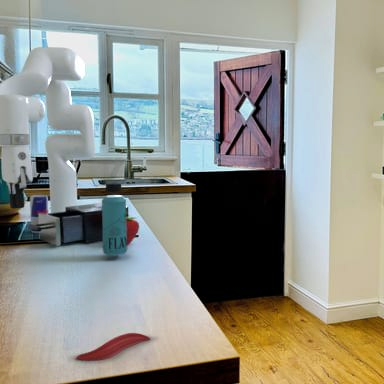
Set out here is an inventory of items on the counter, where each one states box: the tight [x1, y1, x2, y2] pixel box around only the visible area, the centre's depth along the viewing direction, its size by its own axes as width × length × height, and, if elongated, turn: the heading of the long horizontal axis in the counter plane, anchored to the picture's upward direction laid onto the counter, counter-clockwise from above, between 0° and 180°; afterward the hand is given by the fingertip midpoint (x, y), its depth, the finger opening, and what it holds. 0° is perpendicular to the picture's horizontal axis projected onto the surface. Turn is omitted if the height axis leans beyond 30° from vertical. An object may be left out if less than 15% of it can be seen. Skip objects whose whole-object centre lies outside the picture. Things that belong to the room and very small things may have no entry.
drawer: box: [27, 211, 85, 246], centre depth 142 cm, size 18×11×8 cm, turn 136°
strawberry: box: [126, 211, 140, 246], centre depth 141 cm, size 6×8×10 cm
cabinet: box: [65, 202, 129, 245], centre depth 151 cm, size 15×13×10 cm
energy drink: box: [29, 194, 49, 235], centre depth 156 cm, size 5×5×12 cm
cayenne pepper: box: [75, 332, 151, 361], centre depth 75 cm, size 12×5×2 cm, turn 120°
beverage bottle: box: [101, 182, 128, 256], centre depth 126 cm, size 6×7×20 cm
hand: (17, 207), depth 132 cm, fingers closed
